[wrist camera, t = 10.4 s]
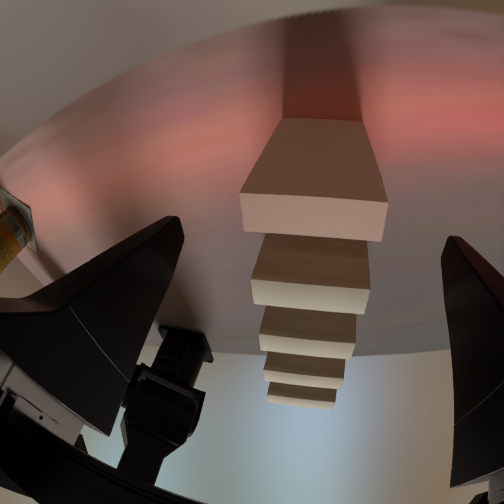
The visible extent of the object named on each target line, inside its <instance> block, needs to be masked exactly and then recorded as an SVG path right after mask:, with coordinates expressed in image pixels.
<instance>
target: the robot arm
mask: <svg viewBox="0 0 504 504" xmlns="http://www.w3.org/2000/svg"><path fill="white" fill-rule="evenodd" d="M183 243H184V233H183V229H182V225H181V222H180V219H179V217H177V216H166V217H164V218H162V219H160V220H158V221H156V222H155V223H153V224H151V225H149V226H147V227H146V228H144V229H142V230H140V231H139V232H137V233H135V234H133V235H132V236H130V237H128V238H126V239H125V240H123V241H121V242H119V243H118V244H116V245H114V246H113V247H111V248H109V249H108V250H106V251H104V252H103V253H101V254H99V255H98V256H96V257H94V258H93V259H91V260H90V261H89V262H86V263H84V264H83V265H81V266H80V267H78V268H76V269H75V270H73V271H71V272H70V273H68V274H66V275H64V276H63V277H61V278H59V279H58V280H56V281H54V282H52V283H50V284H49V285H47V286H45V287H43V288H42V289H40V290H38V291H37V292H35V293H33V294H31V295H29V296H27V297H23V298H1V297H0V486H1V487H3V488H6V489H8V490H11V491H14V492H16V493H19V494H22V495H25V496H28V497H31V498H33V499H34V500H35V501H36V502H38V503H39V504H206V503H203V502H200V501H196V500H193V499H190V498H187V497H184V496H181V495H178V494H175V493H172V492H170V491H167V490H164V489H162V488H159V487H157V486H154V485H155V482H156V479H157V476H158V473H159V470H160V467H161V464H162V462H163V459H164V458H165V457H166V456H168V455H169V454H170V453H171V452H173V451H175V450H176V449H177V448H179V447H180V446H181V445H183V444H184V443H185V442H186V439H187V437H190V436H191V435H192V434H193V432H194V430H195V428H196V426H197V424H198V421H199V418H200V413H201V410H202V406H203V402H204V398H205V394H206V392H204V391H200V390H197V389H195V388H193V387H194V385H195V382H196V379H197V377H198V374H199V371H200V369H201V366H202V364H203V361H204V362H208V363H213V360H214V359H213V356H212V354H211V351H210V349H209V346H208V343H207V341H206V338H205V336H204V335H202V334H199V333H194V332H188V331H183V330H178V329H173V328H168V327H163V326H159V328H158V331H159V333H160V335H161V337H162V338H163V341H162V344H161V346H160V348H159V350H158V352H157V354H156V357H155V359H154V362H153V364H152V366H151V368H150V367H148V366H146V365H145V364H144V363H141V365H136V363H137V360H138V357H139V355H140V352H141V350H142V348H143V345H144V343H145V340H146V338H147V335H148V333H149V330H150V328H151V326H152V323H153V321H154V318H155V316H156V314H157V311H158V309H159V307H160V304H161V302H162V300H163V297H164V295H165V293H166V290H167V288H168V286H169V284H170V281H171V279H172V276H173V273H174V271H175V267H176V264H177V261H178V258H179V255H180V252H181V249H182V246H183ZM441 268H442V279H443V291H444V303H445V310H446V316H447V323H448V330H449V338H450V347H451V357H452V368H453V387H454V424H455V425H454V440H453V442H454V443H453V458H452V470H451V480H450V488H455V487H461V486H466V485H471V484H475V483H480V482H484V481H488V480H489V489H488V492H484V493H481V494H478V495H476V496H475V497H474V498H473V499H472V501H471V502H470V503H469V504H504V277H503V276H502V275H501V274H500V273H499V272H498V271H497V270H496V269H495V268H494V267H493V266H492V265H491V264H490V263H489V262H488V261H487V260H486V259H484V258H483V257H482V256H481V255H480V254H479V253H478V252H477V251H476V250H475V249H474V248H473V247H471V246H470V245H469V244H468V243H467V242H466V241H465V240H464V239H462V238H461V237H459V236H449V237H448V238H447V241H446V244H445V247H444V250H443V252H442V256H441ZM122 401H123V402H122ZM121 403H122V404H121ZM120 406H121V407H123V408H125V409H126V410H125V412H124V415H123V418H122V421H121V424H120V425H121V432H122V437H123V442H124V446H125V449H124V451H123V454H122V456H121V459H120V461H119V464H118V466H117V468H114V467H112V466H110V465H108V464H106V463H103V462H102V461H100V460H98V459H96V458H94V457H92V456H91V455H89V454H88V452H87V449H86V446H85V442H84V439H83V436H82V435H81V434H80V431H81V429H82V427H83V425H84V424H85V425H87V426H88V427H90V428H92V429H94V430H96V431H98V432H100V433H102V434H104V435H106V436H110V434H111V431H112V428H113V425H114V423H115V419H116V417H117V414H118V411H119V408H120Z"/></svg>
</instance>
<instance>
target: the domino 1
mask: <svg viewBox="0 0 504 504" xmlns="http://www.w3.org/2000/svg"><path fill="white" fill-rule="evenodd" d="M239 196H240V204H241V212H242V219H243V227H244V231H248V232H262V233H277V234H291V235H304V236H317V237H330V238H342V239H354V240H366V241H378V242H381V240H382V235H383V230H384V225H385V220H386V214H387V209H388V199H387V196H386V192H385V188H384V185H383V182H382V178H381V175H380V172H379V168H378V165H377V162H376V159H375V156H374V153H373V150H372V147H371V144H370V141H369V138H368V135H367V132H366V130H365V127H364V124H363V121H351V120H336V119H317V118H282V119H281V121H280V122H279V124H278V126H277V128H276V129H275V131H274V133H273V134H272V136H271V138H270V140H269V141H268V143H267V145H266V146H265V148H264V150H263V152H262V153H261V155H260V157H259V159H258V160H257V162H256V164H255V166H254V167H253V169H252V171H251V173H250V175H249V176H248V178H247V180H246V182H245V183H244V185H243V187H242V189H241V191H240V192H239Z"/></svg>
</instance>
